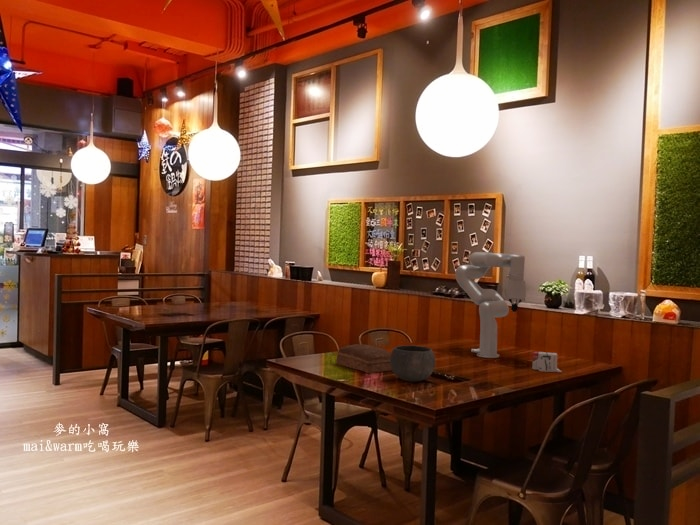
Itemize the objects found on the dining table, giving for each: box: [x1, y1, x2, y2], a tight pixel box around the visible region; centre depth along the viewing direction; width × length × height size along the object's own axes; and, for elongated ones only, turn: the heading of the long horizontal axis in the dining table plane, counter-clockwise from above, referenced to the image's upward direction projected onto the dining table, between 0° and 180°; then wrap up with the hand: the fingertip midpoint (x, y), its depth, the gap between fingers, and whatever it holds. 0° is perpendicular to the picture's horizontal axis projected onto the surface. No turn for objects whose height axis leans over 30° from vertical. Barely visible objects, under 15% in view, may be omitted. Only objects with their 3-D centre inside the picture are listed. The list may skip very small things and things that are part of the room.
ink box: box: [531, 351, 558, 371], centre depth 309 cm, size 9×5×12 cm
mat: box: [538, 367, 563, 373], centre depth 312 cm, size 11×12×1 cm
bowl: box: [390, 344, 436, 383], centre depth 277 cm, size 20×20×15 cm
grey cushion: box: [335, 343, 393, 374], centre depth 307 cm, size 17×29×11 cm, turn 35°
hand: (514, 311), depth 328 cm, fingers closed
